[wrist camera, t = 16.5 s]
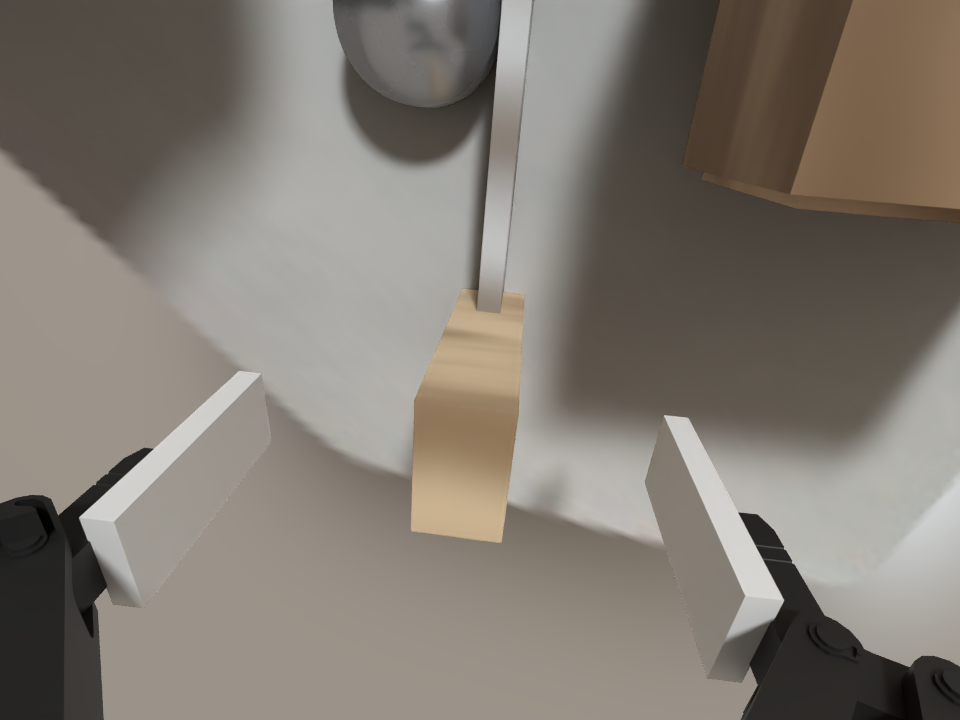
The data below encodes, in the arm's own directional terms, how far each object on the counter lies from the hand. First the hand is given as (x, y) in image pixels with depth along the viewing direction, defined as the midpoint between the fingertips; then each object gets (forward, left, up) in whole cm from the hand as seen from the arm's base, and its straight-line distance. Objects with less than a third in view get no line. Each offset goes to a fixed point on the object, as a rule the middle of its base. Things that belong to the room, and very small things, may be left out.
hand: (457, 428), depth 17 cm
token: (-3, +13, -10) cm, 16 cm away
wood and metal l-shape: (0, +6, -9) cm, 11 cm away
